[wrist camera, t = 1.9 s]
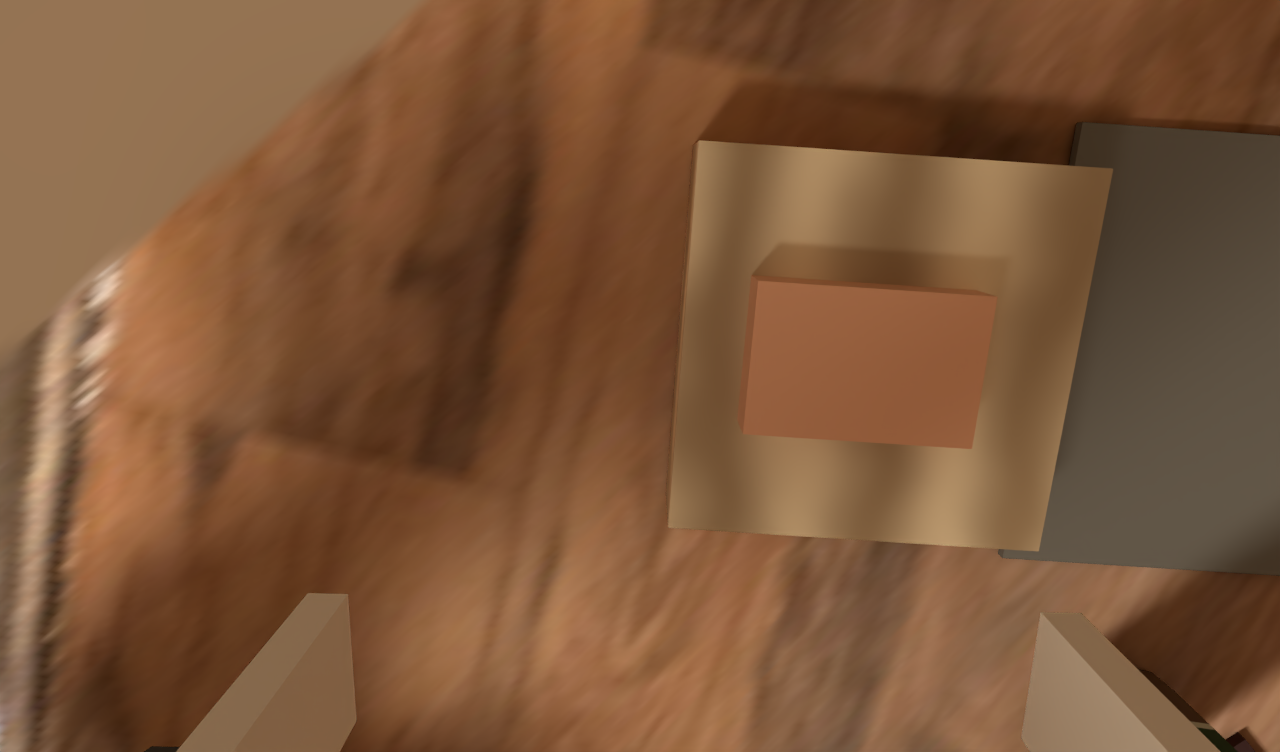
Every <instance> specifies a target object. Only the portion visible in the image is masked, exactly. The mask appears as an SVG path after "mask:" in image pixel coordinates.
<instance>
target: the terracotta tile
mask: <svg viewBox="0 0 1280 752" xmlns="http://www.w3.org/2000/svg"><path fill="white" fill-rule="evenodd" d="M997 298H998V297H996V296H993V295H990V294H987V293H984V292H980V291H977V290H966V289H951V288H936V287H921V286H906V285H891V284H876V283H861V282H846V281H831V280H816V279H801V278H787V277H772V276H757V275H751V283H750V293H749V304H748V314H747V324H746V334H745V345H744V355H743V365H742V375H741V386H740V396H739V406H738V416H737V421H738V423H739V426H740V428H741V431H742V433H743V434H747V435H762V436H777V437H793V438H808V439H824V440H839V441H855V442H870V443H885V444H901V445H916V446H932V447H947V448H962V449H972V446H973V440H974V434H975V428H976V422H977V416H978V410H979V404H980V398H981V393H982V387H983V381H984V375H985V369H986V363H987V357H988V351H989V345H990V339H991V333H992V327H993V321H994V316H995V310H996V304H997Z"/></svg>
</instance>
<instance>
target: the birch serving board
mask: <svg viewBox="0 0 1280 752" xmlns="http://www.w3.org/2000/svg"><path fill="white" fill-rule="evenodd" d="M1112 173H1113V169H1111V168H1096V167H1082V166H1067V165H1053V164H1038V163H1023V162H1009V161H994V160H980V159H965V158H950V157H936V156H921V155H907V154H892V153H877V152H863V151H848V150H834V149H819V148H804V147H790V146H775V145H761V144H746V143H731V142H717V141H702V140H699V141H698V142H696V143H695V144H694V145H693V150H692V163H691V176H690V189H689V201H688V214H687V227H686V240H685V253H684V265H683V278H682V291H681V304H680V317H679V330H678V342H677V355H676V368H675V381H674V394H673V406H672V419H671V432H670V445H669V458H668V470H667V483H666V505H667V519H668V528H678V529H694V530H710V531H725V532H741V533H757V534H772V535H788V536H804V537H820V538H835V539H851V540H867V541H882V542H898V543H914V544H929V545H945V546H961V547H977V548H992V549H1008V550H1024V551H1039V547H1040V542H1041V537H1042V532H1043V527H1044V522H1045V517H1046V512H1047V506H1048V501H1049V496H1050V491H1051V486H1052V481H1053V476H1054V471H1055V465H1056V460H1057V455H1058V450H1059V445H1060V440H1061V435H1062V429H1063V424H1064V419H1065V414H1066V409H1067V404H1068V399H1069V394H1070V388H1071V383H1072V378H1073V373H1074V368H1075V363H1076V358H1077V352H1078V347H1079V342H1080V337H1081V332H1082V327H1083V322H1084V317H1085V311H1086V306H1087V301H1088V296H1089V291H1090V286H1091V281H1092V276H1093V270H1094V265H1095V260H1096V255H1097V250H1098V245H1099V240H1100V234H1101V229H1102V224H1103V219H1104V214H1105V209H1106V204H1107V199H1108V193H1109V188H1110V183H1111V178H1112ZM751 275H757V276H772V277H787V278H801V279H816V280H831V281H846V282H861V283H876V284H891V285H906V286H921V287H936V288H951V289H966V290H977V291H980V292H984V293H987V294H990V295H993V296H996V297H998V298H997V304H996V310H995V316H994V321H993V327H992V333H991V339H990V345H989V351H988V357H987V363H986V369H985V375H984V381H983V387H982V393H981V398H980V404H979V410H978V416H977V422H976V428H975V434H974V440H973V446H972V449H962V448H947V447H932V446H916V445H901V444H885V443H870V442H855V441H839V440H824V439H808V438H793V437H777V436H762V435H747V434H743V433H742V431H741V428H740V426H739V423H738V421H737V416H738V406H739V396H740V386H741V375H742V365H743V355H744V345H745V334H746V324H747V314H748V304H749V293H750V283H751Z"/></svg>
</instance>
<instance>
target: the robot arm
mask: <svg viewBox="0 0 1280 752" xmlns="http://www.w3.org/2000/svg"><path fill="white" fill-rule="evenodd" d="M356 721H357V717H356V702H355V688H354V673H353V658H352V644H351V629H350V614H349V600H348V594H325V593H308V594H307V595H306V596H305V597H304V598H303V600H302V601H301V602H300V603H299V604H298V606H297V607H296V608H295V609H294V610H293V612H292V613H291V614H290V615H289V616H288V618H287V619H286V620H285V621H284V622H283V624H282V625H281V626H280V627H279V628H278V630H277V631H276V632H275V633H274V634H273V636H272V637H271V638H270V639H269V640H268V642H267V643H266V644H265V645H264V646H263V648H262V649H261V650H260V651H259V652H258V654H257V655H256V656H255V657H254V659H253V660H252V661H251V662H250V663H249V665H248V666H247V667H246V668H245V669H244V671H243V672H242V673H241V674H240V675H239V677H238V678H237V679H236V680H235V681H234V683H233V684H232V685H231V686H230V687H229V689H228V690H227V691H226V692H225V693H224V695H223V696H222V697H221V698H220V699H219V701H218V702H217V703H216V704H215V705H214V707H213V708H212V709H211V710H210V711H209V713H208V714H207V715H206V716H205V717H204V719H203V720H202V721H201V722H200V724H199V725H198V726H197V727H196V728H195V730H194V731H193V732H192V733H191V734H190V736H189V737H188V738H187V739H186V740H185V742H184V743H183V744H182V745H181V746H180V747H153V746H152V747H150V748H149V749H147V750H146V751H144V752H340V751H341V749H342V747H343V745H344V743H345V741H346V740H347V738H348V736H349V734H350V732H351V730H352V729H353V727H354V725H355V723H356ZM1021 739H1022V740H1023V742H1024V743H1025V745H1026V746H1027V748H1028V749H1029V751H1030V752H1220V751H1219V750H1218V749H1217V748H1216V747H1215V746H1214V745H1213V744H1212V743H1211V742H1210V741H1209V740H1208V739H1207V738H1206V737H1205V736H1204V735H1203V734H1202V733H1201V732H1200V731H1199V730H1198V729H1197V728H1196V727H1195V726H1194V725H1193V724H1192V723H1191V722H1190V721H1189V720H1188V719H1187V718H1186V717H1185V716H1184V715H1183V714H1182V713H1181V712H1180V711H1179V710H1178V709H1177V708H1176V707H1175V706H1174V705H1173V704H1172V703H1171V702H1170V701H1169V700H1168V699H1167V698H1166V697H1165V696H1164V695H1163V694H1162V693H1161V692H1160V691H1159V690H1158V689H1157V688H1156V687H1155V686H1154V685H1153V684H1152V683H1151V682H1150V681H1149V680H1148V679H1147V678H1146V677H1145V676H1144V675H1143V674H1142V673H1141V672H1140V671H1139V670H1138V669H1137V668H1136V667H1135V666H1134V665H1133V664H1132V663H1131V662H1130V661H1129V660H1128V659H1127V658H1126V657H1125V656H1124V655H1123V654H1122V653H1121V652H1120V651H1119V650H1118V649H1117V648H1116V647H1115V646H1114V645H1113V644H1112V643H1111V642H1110V641H1109V640H1108V639H1107V638H1106V637H1105V636H1104V635H1103V634H1102V633H1101V632H1100V631H1099V630H1098V629H1097V628H1096V627H1095V626H1094V625H1093V624H1092V623H1091V622H1090V621H1089V620H1088V619H1087V618H1086V617H1085V616H1084V615H1083V614H1082V613H1055V612H1041V613H1040V620H1039V626H1038V633H1037V639H1036V646H1035V652H1034V659H1033V665H1032V672H1031V678H1030V685H1029V691H1028V698H1027V704H1026V711H1025V717H1024V723H1023V730H1022V736H1021Z"/></svg>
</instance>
